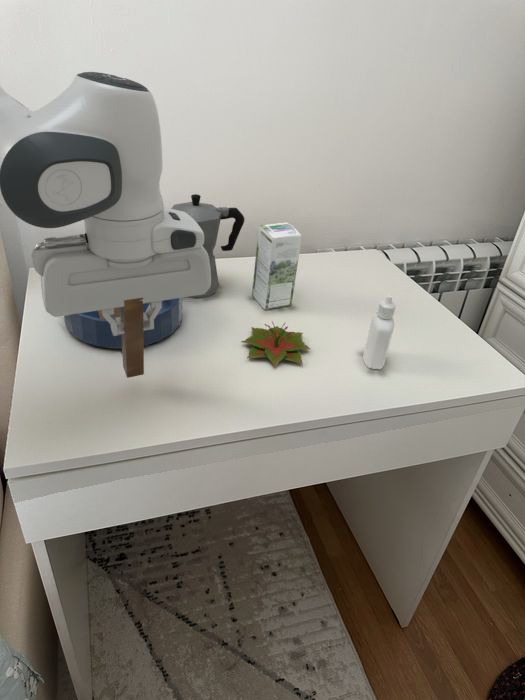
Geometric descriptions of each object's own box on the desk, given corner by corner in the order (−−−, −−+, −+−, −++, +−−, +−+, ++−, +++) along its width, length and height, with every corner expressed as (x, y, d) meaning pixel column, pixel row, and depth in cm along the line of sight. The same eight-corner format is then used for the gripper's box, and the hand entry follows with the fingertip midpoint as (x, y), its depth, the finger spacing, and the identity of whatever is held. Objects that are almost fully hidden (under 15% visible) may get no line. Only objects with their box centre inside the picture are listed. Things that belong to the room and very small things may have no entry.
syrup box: (278, 291, 103) (286, 220, 95) (292, 306, 99) (302, 233, 91) (251, 296, 101) (257, 223, 93) (265, 311, 97) (273, 237, 88)
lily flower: (311, 332, 93) (315, 309, 90) (312, 374, 83) (316, 350, 80) (242, 324, 93) (244, 302, 90) (235, 366, 83) (237, 342, 80)
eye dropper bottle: (392, 357, 88) (410, 294, 81) (378, 373, 84) (395, 308, 78) (368, 347, 90) (383, 284, 83) (353, 362, 86) (368, 298, 79)
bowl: (75, 361, 81) (71, 330, 77) (58, 299, 94) (53, 271, 91) (196, 339, 88) (197, 310, 85) (163, 284, 102) (163, 258, 99)
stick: (127, 378, 74) (123, 300, 64) (122, 366, 75) (118, 288, 66) (144, 374, 75) (143, 297, 65) (139, 362, 76) (138, 285, 67)
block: (102, 340, 84) (100, 319, 82) (98, 327, 87) (96, 306, 85) (128, 337, 86) (126, 315, 83) (123, 323, 89) (121, 303, 86)
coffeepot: (161, 300, 97) (159, 204, 86) (157, 276, 104) (154, 185, 94) (244, 297, 100) (251, 204, 90) (235, 273, 108) (240, 185, 97)
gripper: (31, 252, 55) (51, 359, 63) (217, 232, 63) (214, 329, 71) (25, 228, 60) (45, 331, 68) (199, 212, 67) (198, 306, 76)
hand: (133, 330), depth 69 cm, fingers closed on stick, 2 cm apart
